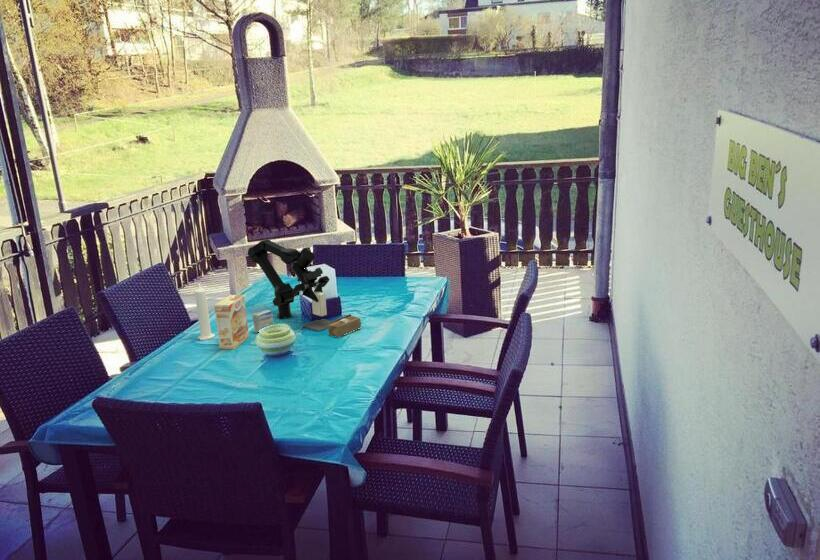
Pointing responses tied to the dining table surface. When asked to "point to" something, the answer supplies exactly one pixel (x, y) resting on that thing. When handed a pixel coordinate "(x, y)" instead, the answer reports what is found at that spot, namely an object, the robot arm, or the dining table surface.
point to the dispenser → (343, 325)
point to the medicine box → (262, 319)
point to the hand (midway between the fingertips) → (320, 300)
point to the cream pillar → (319, 304)
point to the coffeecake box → (231, 321)
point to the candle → (203, 314)
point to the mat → (317, 325)
